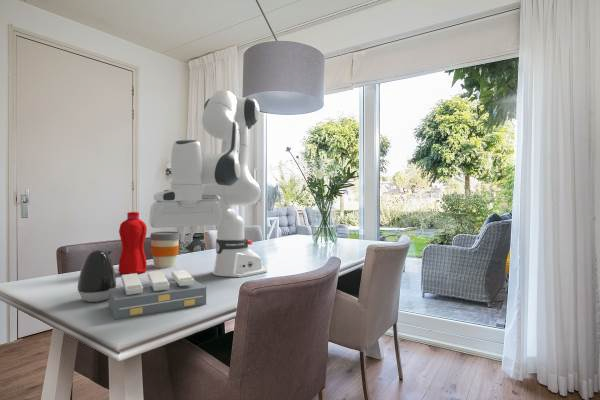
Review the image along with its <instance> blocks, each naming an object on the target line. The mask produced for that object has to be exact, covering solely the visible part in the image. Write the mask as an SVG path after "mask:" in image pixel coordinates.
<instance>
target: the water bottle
mask: <svg viewBox="0 0 600 400" xmlns="http://www.w3.org/2000/svg"><path fill="white" fill-rule="evenodd" d="M126 217H127V218H126V219H125V220H124V221H122V222H121V223H120V226H119V230H118V233H119V237H120V242H121V247H122V248H121V253H120V256H119V257H120V258H119V261H118V272H119V274H121V275H126V274H135V273H137V274H143V273H145V272H147V267H148V266H147V265H148V264H147V258H146V253H145V248H144V247H145V246H144V245H145V241H146V237H147V233H148V231H147V230H148V229H147V225H146V223H145V222H144V221H143V220H141V219H140V212H138V211H130V212H127V215H126Z"/></svg>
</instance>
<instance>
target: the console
mask: <svg viewBox="0 0 600 400" xmlns="http://www.w3.org/2000/svg"><path fill="white" fill-rule="evenodd" d="M168 282H169V284H170V286H169V289H167V290H159V291H154V289H153V287H152V285H151V283H146V284H145V283H144V284H142V286H143V293H137V294H130V295H126V292H125V289H124V286H122V287H121V286H120V287H115V288H112V289H109V298H108V308H109V309H110V312H111V314H112V316H113V318H114V320H115V319H116V320H121V319H126V318H132V317H137V316H144V315H149V314H150V315H151V314H157V313H162V312H169V311H175V310H180V309H185V308H191V307H197V306H202V305H207V287H206V286H205V285H204V284H202V283H200V282H199V281H197V280H195V279H194V284H192V285H184V286H180V285H179V284H178V283H177V282H176V280H170V281H169V280H168Z"/></svg>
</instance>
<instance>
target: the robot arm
mask: <svg viewBox="0 0 600 400" xmlns="http://www.w3.org/2000/svg"><path fill="white" fill-rule="evenodd" d="M203 109H204V110H203V113H202V116H201V125H202V127H203V128H204V131H206V132H207V134H208V135H210V136H211V137H213V138H215V139H219V140H222V142H221V150H220V151H221V152H220V153H203V152H202V146H201V141H199V140H196V139H182V140H181V139H180V140H176V141H174V143H173V145H172V149H171V156H170V170H171V171H170V172H171V177H172V178H171V182H170V189H165V190H162V191H159V192H156V193H154V194H153V200H154V202H153V203H152V204H151V206H150V210H149V217H148V218H149V221H148V222H149V226H150V227H151V228H155V229H160V228H163V229H164V228H176V232H179V236H180V241H181V242H180V243H191V242H193V241H194V240H193V239H194V238H193V237H194V235H195V233H196V232H197V230H198V229H197V227H203V226H206V227H207V226H216V236H217V237H216V239H215V240H216V241H215V252H216V256H215V262H214V263H215V264H214V268H213V271H212V274H213V275H214V276H217V277H233V278H243V277H249V276H253V275H254V276H255V275H259V274H264V273H268V268H267V267H266V266H263V262H262V258H261V257H260V255H258V254H257V253H256V252H255V251H253V250H252V249H251V248H250V247H249V245H250V246H251V245H252V244H253V240H252V239H246V238H245V220H244V218H243V217H242V216H241V215H239V214H238V213H237V212H236V211H235V210H236V209H235V208H234V206H238V207H239V206H240V207H241V206H243V207H244V206H250V205H255V204H256V203H258V201H259V200H260V198H261V194H262V191H261V186H260V185H259V183H258V182H257V180H255V179H254V178H253V176H252V174H251V173H250V170H249V169H250V168H249V163H248V161H249V146H250V145H249V143H250V140H249V139H250V136H249V130H250V129H251V128H252V127H253V126H254V125H255V124H256V123H257V122H258V121H259V118H260V117H259V116H260V115H261V114H260V112H261V110H260V106H259V103H258V101H257V100H256V99H255V98H253V97H242V96H241V97H240V96H235V94H234V93H233V92H231V91H230V90H226V89H220V90H217V91H215V92H214V94H212V96H211V97H210V98H208V99H207V100H206V101H205V103H204V105H203ZM185 227H189V230H190V232H189V233H188V234H187V235H185V234H184V230H185Z"/></svg>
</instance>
